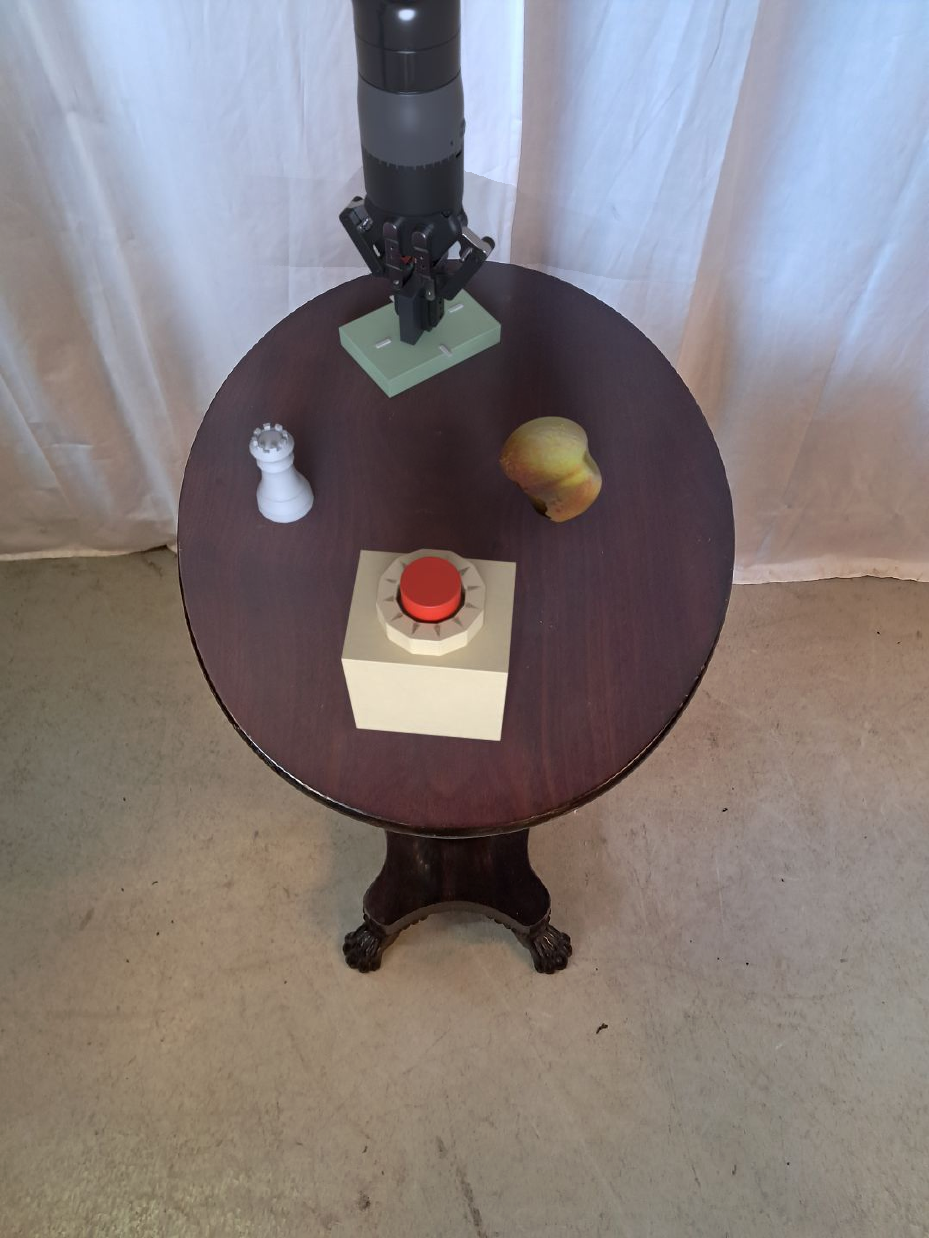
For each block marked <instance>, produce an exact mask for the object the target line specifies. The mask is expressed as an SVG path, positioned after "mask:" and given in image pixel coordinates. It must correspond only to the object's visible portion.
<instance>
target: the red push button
mask: <svg viewBox="0 0 929 1238" xmlns="http://www.w3.org/2000/svg"><path fill="white" fill-rule="evenodd" d="M400 589H401V600H402V604H403V607H404V608H405V610H406V611H407V612H408V613H409V614H410V615H411V616H412V617H414V618H416V619H418V620H421V621H425V622H437V621H441V620H444V619H446V618H448V617H449V616H451V615H452V614H453V613H454V612H455V611H456V609H457V608H458V606H459V604H460V600H461V577H460V574H459V572H458V570H457V569H456V568H455V566H454V565H453V564H451V563H450V562H449V561H447V560H445V559H442V558H439V557H423V558H420V559H417V560H415V561H413V562H412V563H410V564H409V565H408V566H407V567H406V568H405V569H404V571H403V573H402V575H401V578H400Z"/></svg>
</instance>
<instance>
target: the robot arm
mask: <svg viewBox="0 0 929 1238" xmlns="http://www.w3.org/2000/svg"><path fill="white" fill-rule="evenodd" d="M350 2H351V9H352V23H353V32H354V45H355V53H356V54H355V56H356V66H357V67H356V68H357V83H356V85H357V86H356V106H357V107H356V108H357V118H358V129H359V130H358V131H359V138H360V139H359V140H360V149H361V162H362V173H363V182H364V189H365V196H364V198H363V197H362V196H360V195H356V196H354V197H353V198H352V199H351V201H349V203H348V204H347V205H346V206H345V208H344V209H343V210H342V211H341V212H340V213H339V215H338V219H339V222H340V224H341V225H342V227H343V228H344V230H345V231H346V233H347V235H348V237H349V238H350V240H351V241H352V243H353V244H354V247H355V248H356V249H357V251H358V253H359V254H360V256H361V258H362V259H363V261H364V263H365V264H366V266H367V268H368V269H369V271H370V273H371V274H372V276H374V277H376V278H382V277H384V278H385V279H387V280H388V281H389V284H390V286H391V287H392V292H393V296H394V304H395V305H394V306H395V311H396V314H397V315H399V310H398V293H399V292H400V291H401V289H402V288H403V287H404V285H405V284H406V283H407V281H408V280H409V279H410V277H411V276H412V275H413V273H414V272H415V271H416V269H417V275H418V276H420V277H421V289H422V296H421V297H420V304H421V329H422V330H425V331H428V332H430V331H431V330H432V329H433V327H434V328H436V326H437V325H438V324H439V322H440V321H441V319H442V318H443V316H444V314H445V310H444V299H445V300H448V301H451V300H453V299H454V298H455V296H456V295H457V294H458V293H459V292H460V291H461V290H462V288H463V289H464V287H465V286H466V285H467V284H468V283H469V282H470V280H472V278H473V277H474V276H475V274H476V273H478V271H479V270H480V269H481V268H482V266H483V265H484V264H485V262H486V260H488V258H489V256H490V255H491V253H492V252H493V251H494V249H495V248H496V242H495V240H494V239H493V238H492V237H491V236H489V235H485V236H483V237H482V238H481V237H479V236H478V234H476V233H475V232H474V231H473V230H472V229H471V228H470V227H469V217H468V215H467V213H466V211H465V209H464V206H463V199H464V188H465V133H466V125H467V122H466V117H465V93H464V92H465V91H464V84H463V77H462V3H461V2H462V1H461V0H350ZM457 242H458V244H459V246H460V250H459V251H458V256H459V259H458V261H459V263H460V264H459V266H458V267H457V268H455V269H456V270H454V272H453V273H448V267H447V266H448V265H447V263H448V262H447V261H448V258H449V255H450V254H449V250H450V249H451V248H452V247H453V246H454V245H455V244H456V243H457ZM374 247H375V248H374ZM375 249H376V250H377V251H376V250H375ZM377 252H378V253H377Z"/></svg>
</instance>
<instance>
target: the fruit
mask: <svg viewBox="0 0 929 1238" xmlns="http://www.w3.org/2000/svg"><path fill="white" fill-rule="evenodd" d="M588 441H589V439H588V436H587V432H586V430H584V428H583V427H582V426H581V425H580V424H578V423H576V422H575V421H573V420H572V419H569V418H565V417H561V416H543V417H538V418H537V417H536V418H534V419H532V420H530V421H527V422H525V423H523V424H521V425H520V426H519V427H518V428H516V429H515V430H514V431H513V432H512V433H511V434H510V435H509V437H508V438H507V440H506V441H505V443H504V445H503V448H502V449H501V450H500V455H499V460H498V461H499V466H500V468H501V470H502V471H503V473H504V475H505V476H506V477H507V478H508V479H509V480H511V481H512V482H513V483H514V485H516V486H517V488H518V489H519V490H520V491H521V492H522V493H524V494H525V495H527V497H529V498H530V501H531V506H532V507H533V509H534V510H535V511H536V513H537V514H539V515H540V516H542V517H546V518H547V519H548V520H550V521H553V522H555V523H560V522H562V523H563V522H565V521H567V520H571V519H573V518H576V517H577V516H578V515H582V513H584V512H585V511H586V510H588V509H589V507H591V505H592V504H593V503H594V502H595V500H597V498H598V495H599V494H600V491H601V490H602V489H601V488H602V484H603V477H602V474H601V471H600V468H599V466H598V464H597V463H596V461H595V460H594V459H593V457H592V456H591V453H590V449H589V443H588Z"/></svg>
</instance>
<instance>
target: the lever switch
mask: <svg viewBox="0 0 929 1238" xmlns="http://www.w3.org/2000/svg"><path fill="white" fill-rule="evenodd" d="M389 299H390V300H391V301H392V302H391V303H388V304H386V305H384V306H381V307H379V308H378V309H375V310H374V311H371V312H369V313H367V314H364V315H363V316H361V317H358V318H357V319H354V320H352V321H350V322H347V323H345V324H344V325H341V326H339V327H338V331H339V338H340V345H341V346H342V347H343V348H344V350H345V351H346V352H347V353H348V354H349V355H350V356H351V357H352V358H353V360H354V361H356V363H357V364H358V365H359V366H360V367H361V368H362V369H363V370H364V371H365V373H366V374H367V375H368V376H369V377H370V378H371V379H372V380H373V381H374V382H375V383H376V385H377V386H378V387H379V388H380V389H381V390H382V391H383V393H385V395H386V396H388V398H392V397H395V396H396V395H398V394H401V393H402V392H404V391H406V390H408V389H410V388H413V387H414V386H416V385H418V384H420V383H422V382H424V381H426V380H427V379H430V378H432V377H434V376H437V374H440V373H442V372H443V371H446V370H448V369H450V368H452V367H454V366H456V365H458V364H459V363H461V362H463V361H465V360H467V359H469V358H471V357H473V356H475V355H477V354H479V353H481V352H483V351H485V350H487V349H489V348H491V347H493V346H494V345H497V344H499V343H500V342H501V333H502V331H501V329H502V324H501V323H500V322H499V321H498V320H496V319H495V317H493V315H492V314H490V313H489V311H487V310H486V309H485V308H484V307H483V306H482V305H481V304H480V303H479V302H477V300H475V298H474V297H472V296H471V295H470V294H469V293H468V292H467V291H466V290H465V289H464V287H463V288H462V290H461V291H460V292H459V293H458V294H457V295H456V296H455V298H454V299H453V300H451V301H448V300H445V299H444V310H445V314H444V316H443V318H442V319H441V321H440V322H439V324H438V325H437V326H436V328H434V327H433V329H432V330H431V331H430V332H428V331H424V333H423V334H422V335H421V337H420V338H419V340H418V341H417V342H416V344H415V345H411V344H408V343H405V342H402V341H400V326H399V315H397V314H396V311H395V306H394V305H395V304H394V294H392V295H390V296H389Z"/></svg>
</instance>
